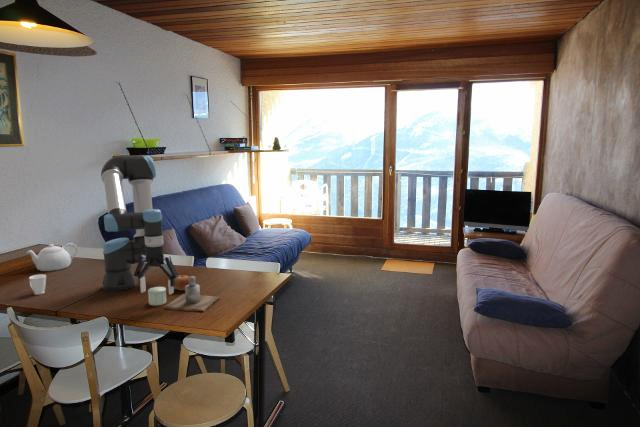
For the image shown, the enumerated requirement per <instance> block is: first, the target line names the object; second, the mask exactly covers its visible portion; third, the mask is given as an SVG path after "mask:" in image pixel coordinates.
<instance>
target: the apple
mask: <svg viewBox="0 0 640 427" xmlns="http://www.w3.org/2000/svg"><path fill="white" fill-rule="evenodd" d="M189 277H190V276H188V275H185V274H180V275H179V276H178V277H177V278H175V286H174V288H175V289H176V290H177V291H185V286H186V285H189Z"/></svg>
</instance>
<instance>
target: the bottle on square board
mask: <svg viewBox="0 0 640 427" xmlns="http://www.w3.org/2000/svg"><path fill="white" fill-rule="evenodd" d="M188 277H189V285H186V286H185V290H184V292H185V293H182V294H181V295H180V296H178V297H177V298H175V299H174V300H172V301H171V302H168V303H167V304H166V305H164V309H165V310H166V309H167V310H178V311H188V312H198V311H203V312H202V313H204V312H205V311H207V310H208V309H209V308H210V307H212V306H213V305H214V304H215V303H214V302H216V301H217V300H218V299H219V298H220V299H221V296H216V295H215V296H214V295H204V294H203V295H202V294H201V292H200V291H201V290H200V284H198V283H196V276H194V275H191V276H188ZM220 299H219V300H220ZM219 300H218V301H219ZM218 301H217V302H218ZM217 302H216V303H217ZM213 303H214V304H213ZM212 304H213V305H212ZM211 305H212V306H211ZM209 306H210V307H209ZM208 307H209V308H208ZM207 308H208V309H207ZM206 309H207V310H206Z"/></svg>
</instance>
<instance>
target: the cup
mask: <svg viewBox="0 0 640 427" xmlns="http://www.w3.org/2000/svg"><path fill="white" fill-rule="evenodd" d="M28 279H29V286H30V288H31V289H32V291H33V294H34V295H42V294H45V291H46V282H47V275H46V274H42V273H41V274H39V273H38V274H34V275H31V276H29V277H28Z"/></svg>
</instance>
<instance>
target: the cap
mask: <svg viewBox="0 0 640 427" xmlns="http://www.w3.org/2000/svg"><path fill="white" fill-rule="evenodd" d="M147 295H148V304H149V305H150V306H162V305H164V304H166V303H167V301H168V300H167V288H166V287H165V286H154V287H150V288H148V289H147Z"/></svg>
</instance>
